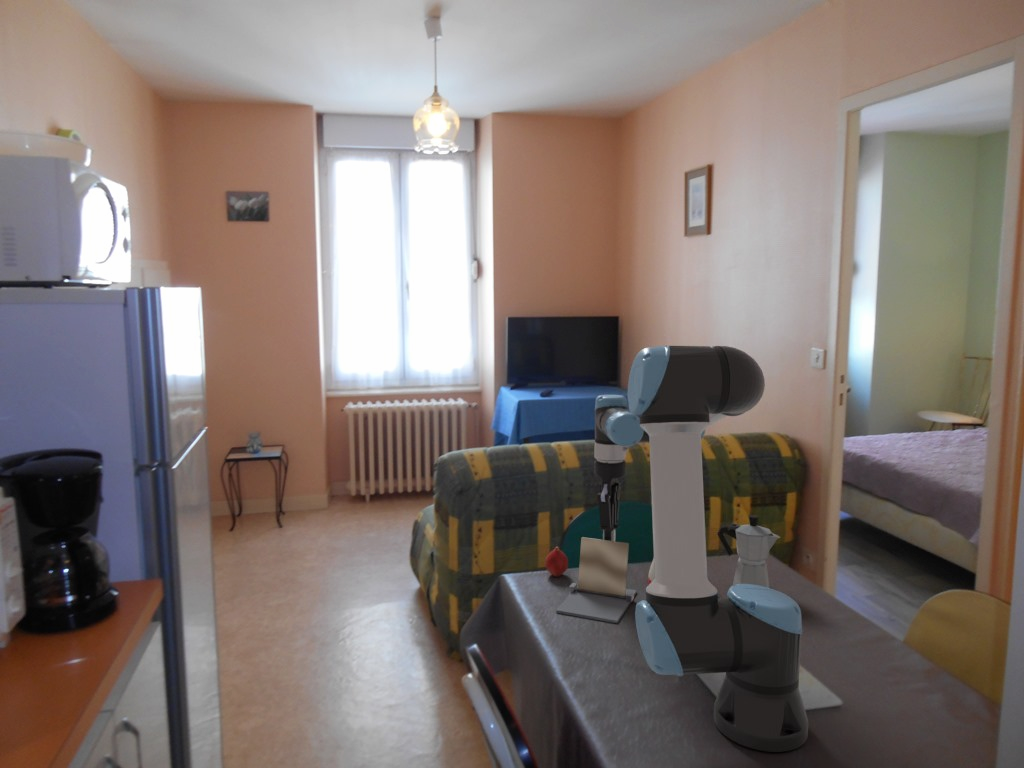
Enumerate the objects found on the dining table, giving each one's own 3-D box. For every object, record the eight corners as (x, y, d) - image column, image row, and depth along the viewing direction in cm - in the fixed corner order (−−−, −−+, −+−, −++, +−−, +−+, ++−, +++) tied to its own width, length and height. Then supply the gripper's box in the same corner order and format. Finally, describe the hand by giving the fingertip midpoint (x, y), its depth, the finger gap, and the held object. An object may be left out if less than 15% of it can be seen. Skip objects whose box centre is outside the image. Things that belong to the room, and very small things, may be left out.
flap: (626, 598, 167) (625, 599, 166) (577, 590, 172) (576, 591, 171) (629, 543, 168) (628, 543, 167) (581, 536, 173) (580, 537, 172)
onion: (541, 574, 184) (542, 544, 183) (562, 571, 185) (563, 541, 184) (549, 582, 178) (550, 551, 177) (571, 580, 180) (571, 549, 179)
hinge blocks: (631, 602, 165) (631, 596, 165) (569, 592, 171) (569, 586, 171) (633, 598, 167) (633, 592, 167) (572, 588, 173) (572, 582, 173)
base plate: (617, 623, 155) (617, 620, 155) (556, 612, 161) (556, 610, 161) (636, 592, 172) (636, 590, 172) (580, 583, 177) (580, 581, 177)
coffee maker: (782, 587, 175) (785, 515, 173) (774, 599, 168) (777, 524, 166) (721, 574, 183) (723, 506, 181) (710, 586, 176) (712, 514, 174)
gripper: (618, 466, 164) (617, 566, 166) (632, 455, 176) (630, 549, 178) (587, 463, 167) (586, 562, 169) (602, 453, 179) (601, 545, 181)
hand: (608, 555), depth 174 cm, fingers closed
